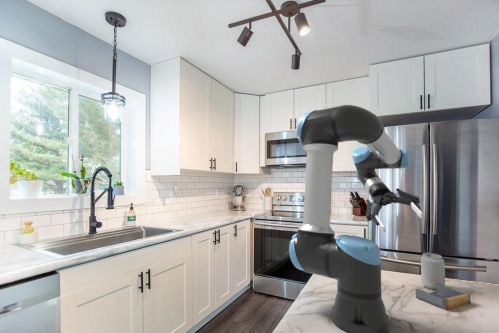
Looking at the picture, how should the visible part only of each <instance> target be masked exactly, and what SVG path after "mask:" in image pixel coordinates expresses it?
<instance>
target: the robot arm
mask: <svg viewBox="0 0 499 333" xmlns="http://www.w3.org/2000/svg"><path fill="white" fill-rule="evenodd" d="M297 122H298V123H297V126H296V137H297V140H298V142H299V144H300V145H302V149H303V150H304V151H305V152H306V164H305V165H306V166H305V180H304V183H305V184H304V199H303V215H302V224H301V225H300V226H299V227H298V228H297V233H295V234H293V235H292V237H291V240H290V241H289V248H288V249H289V250H288V251H289V252H288V253H289V257H290V260H291V263H292V265H293V266H294V267H295V268H296V269H298V270H300V271H303V272H305V273H307V274H312V275H317V276H322V277H325V278H329V279H333V280H336V281H337V285H336V286H337V287H336V288H337V292H336V294H335V295H336V296H335V299H334V303H333V305H332V308H331V321H332V322H333V324H335V326H337V327H338V328H339V329H341V330H343V331H344V332H347V333H389V331H390V317H389V315H388V313H387V310H386V307H385V303H384V300H383V298H382V265H381V264H382V259H381V251H380V247H379V245H378V244H377V243H376V242H375V241H373V240H370V239H368V238H365V237H362V236H358V235H350V234H340V235H337V236H336V234H335V233H336V232H335V231H334V229H333V228H332V227H331V212H332V211H331V209H332V208H331V207H332V188H333V187H332V186H333V165H334V164H333V163H334V159H333V158H334V154H335V153H336V152H337V151H338V149H339V143H345V142H357V143H359V144H362V145H365V146H359V147H357V148H356V149H355V148H354V150H353V151H352V153H351V156H352V162H353V164H354V167H355V169H356V177H357V179H358V180H359V182H361V184H362V185H363V187H364V188H365V190H366V191H367V193H368V194H369V195H370V197H371V198H372V199H371V200H369V199H366V201H365V202H366V204H367V205H366V212H365V213H366V214H365V217H366V219H367V222H370V221H372V222H373V223H374V224H375V226H377V227H378V226H379V227H380V228H381V230H382V231H383V233H386V232H387V231H386V228H385V226H384V224H383V222H382V220H381V219H380V218H379V216H378V215H379V214H380V211H381V209H382V208H383V207H386V206H387V205H391V204H393V203H394V204H401V205H405V206H410V207H411V209H412V210H413V212H414V213H416V215H417V216H418V217H419V218H420V219H421V220H423V219H424V214H423V212H422V209H421V206H420V205H419V204H420V203H421V201H420V197H419V196H417V195H413V194H412V193H411V194H410V193H409V192H405V191H403V190H401V189H400V188H396V189H395V191H391V190H390V188H389V187H388V186H387V185H386V184H385V182H384V181H383V180H382V179H381V178H380V177H379V175H378V173H377V171H376V170H382V169H383V170H384V169H385V170H386V169H388V170H389V169H395V170H396V169H399V170H401V169H408V168H410V166H411V162H412V158H411V157H412V155H411V152H410V150H408V149H402V148H401V149H399V148H398V146H397V145H396V144H395V143H394V141H393V140H392V139H391V137H390V136H389V134H387V132H386V131H385V125H384V123H383V121H382V120H381V119H380V118H379V117H378V115H376V114H375V113H373V112H372V111H370V110H368V109H366V108H363V107H362V106H358V105H354V104H353V105H351V104H343V105H337V106H335V107H327V108H324V109H316V110H312V111H309V112H306V113H303V115H302V116H301V117H300V118H299V120H298V121H297ZM374 204H375V206H374V208H373V205H374ZM335 236H336V238H335Z"/></svg>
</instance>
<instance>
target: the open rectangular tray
mask: <svg viewBox="0 0 499 333" xmlns="http://www.w3.org/2000/svg"><path fill="white" fill-rule="evenodd" d="M415 298H416V299H418V300H420V301H422V302H425V303H427V304H430V305H431V306H434V307H437V308H440V309H441V310H444V311H450V310H454V309H458V308H463V307H465V306H469V305H471V303H472V302H471V294H469V293H467V292H464V291H461V290H458V289H455V288H452V287H450V286H446V285H445V286H444V285H441V284H437V290H434V291H432V292H431V291H430V292H429V291H425V290H423V289H421V288H415Z"/></svg>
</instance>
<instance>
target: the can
mask: <svg viewBox="0 0 499 333" xmlns="http://www.w3.org/2000/svg"><path fill="white" fill-rule="evenodd" d="M445 266H446V265H445V260H444V259H443V256H442V255H440V254H438V253H437V254H436V253H432V252H424V253H422V256H420V272H421V273H420V274H421V275H420V278H421V284H422V285H423V286H424V287H425V288H427V289H430V290H434V291H437V284H441V285H444V286H446V269H445V268H446V267H445Z"/></svg>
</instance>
